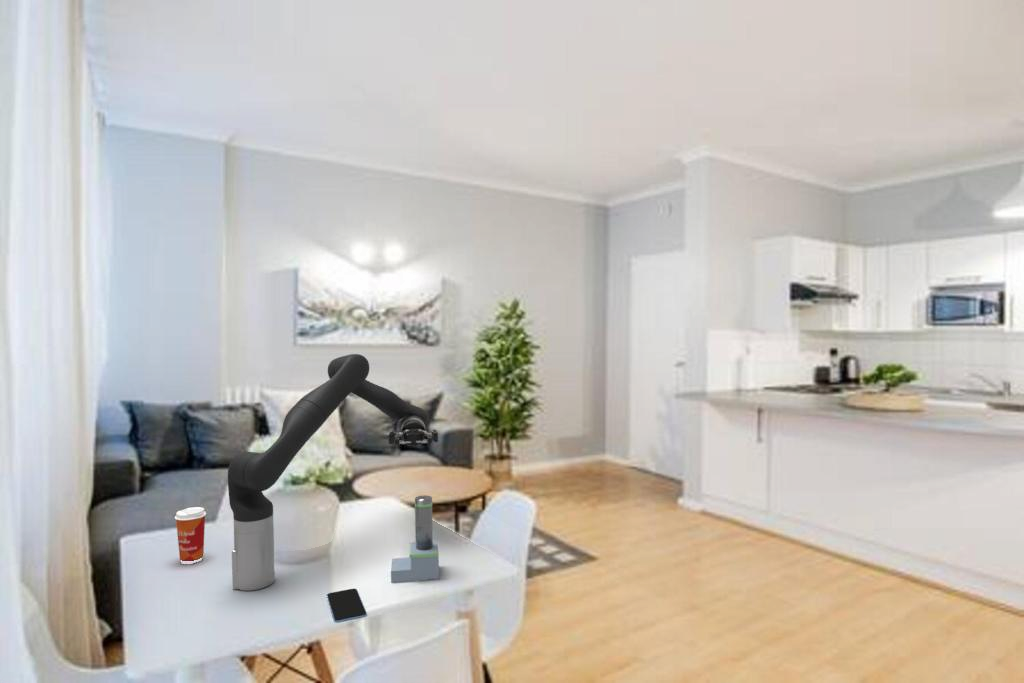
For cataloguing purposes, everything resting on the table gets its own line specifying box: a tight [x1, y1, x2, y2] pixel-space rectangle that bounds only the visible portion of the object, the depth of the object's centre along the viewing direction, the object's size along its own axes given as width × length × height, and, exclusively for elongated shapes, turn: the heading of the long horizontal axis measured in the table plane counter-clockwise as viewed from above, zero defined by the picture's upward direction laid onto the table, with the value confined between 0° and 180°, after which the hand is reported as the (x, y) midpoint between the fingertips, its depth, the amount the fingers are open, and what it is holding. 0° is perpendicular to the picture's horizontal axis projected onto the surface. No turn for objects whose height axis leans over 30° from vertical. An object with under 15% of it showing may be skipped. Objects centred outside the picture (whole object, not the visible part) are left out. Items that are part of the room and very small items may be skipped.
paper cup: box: [174, 506, 207, 561], centre depth 165 cm, size 8×8×14 cm
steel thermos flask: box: [414, 494, 434, 550], centre depth 156 cm, size 5×5×13 cm
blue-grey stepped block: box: [390, 540, 440, 584], centre depth 155 cm, size 12×8×7 cm
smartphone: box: [326, 588, 368, 624], centre depth 139 cm, size 7×1×15 cm
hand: (413, 441), depth 168 cm, fingers open, 8 cm apart
